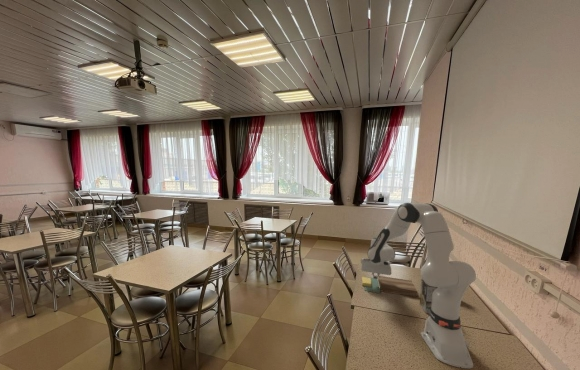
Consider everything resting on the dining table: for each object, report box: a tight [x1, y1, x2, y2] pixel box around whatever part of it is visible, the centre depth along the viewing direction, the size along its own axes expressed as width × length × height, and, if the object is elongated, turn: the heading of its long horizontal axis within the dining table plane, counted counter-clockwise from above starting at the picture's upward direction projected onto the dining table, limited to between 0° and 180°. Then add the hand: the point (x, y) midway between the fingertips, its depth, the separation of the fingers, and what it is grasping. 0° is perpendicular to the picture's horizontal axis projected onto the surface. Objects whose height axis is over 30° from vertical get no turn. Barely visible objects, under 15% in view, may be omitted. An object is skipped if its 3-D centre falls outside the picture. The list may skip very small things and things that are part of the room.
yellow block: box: [361, 276, 372, 287], centre depth 158 cm, size 9×6×2 cm, turn 164°
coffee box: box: [419, 278, 438, 315], centre depth 130 cm, size 9×6×16 cm
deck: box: [377, 275, 418, 298], centre depth 152 cm, size 14×22×4 cm, turn 74°
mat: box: [362, 275, 381, 294], centre depth 157 cm, size 20×10×1 cm, turn 164°
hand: (375, 278), depth 156 cm, fingers closed
